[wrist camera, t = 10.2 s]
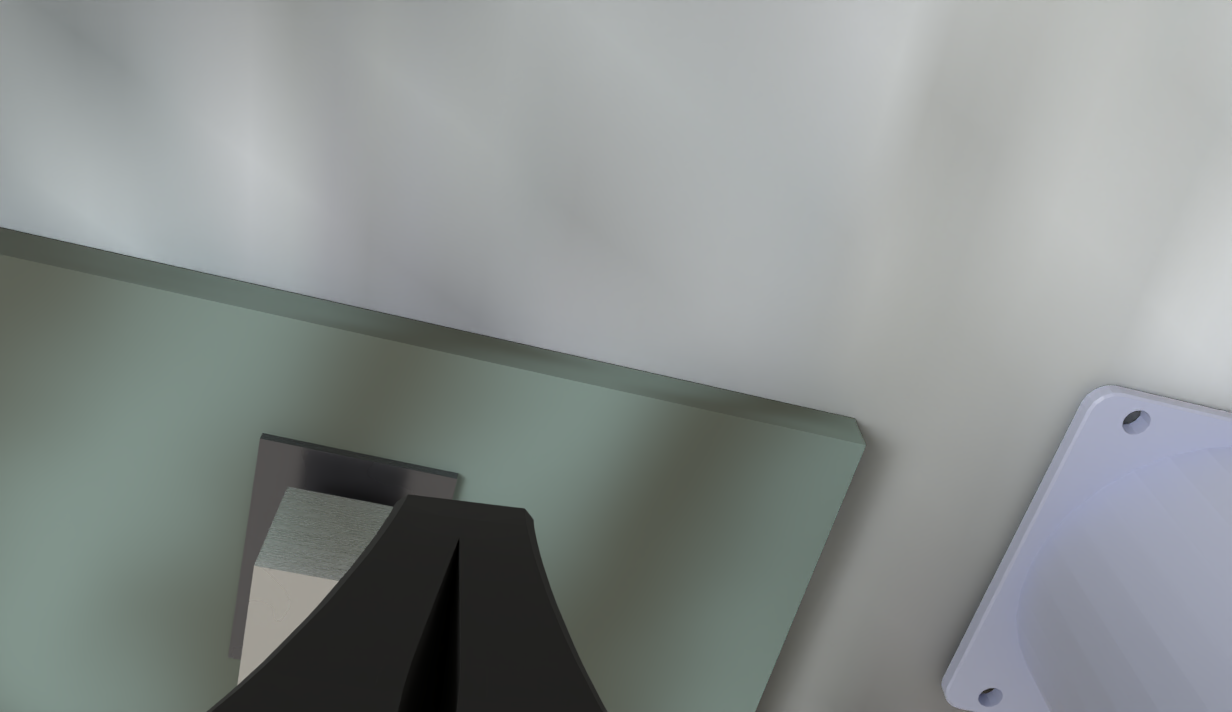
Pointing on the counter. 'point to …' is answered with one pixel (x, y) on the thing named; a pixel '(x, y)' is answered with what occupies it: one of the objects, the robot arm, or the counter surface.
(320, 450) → the plates
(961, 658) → the robot arm
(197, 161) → the counter surface
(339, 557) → the lock bar
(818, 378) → the counter surface
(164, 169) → the counter surface
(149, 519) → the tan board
